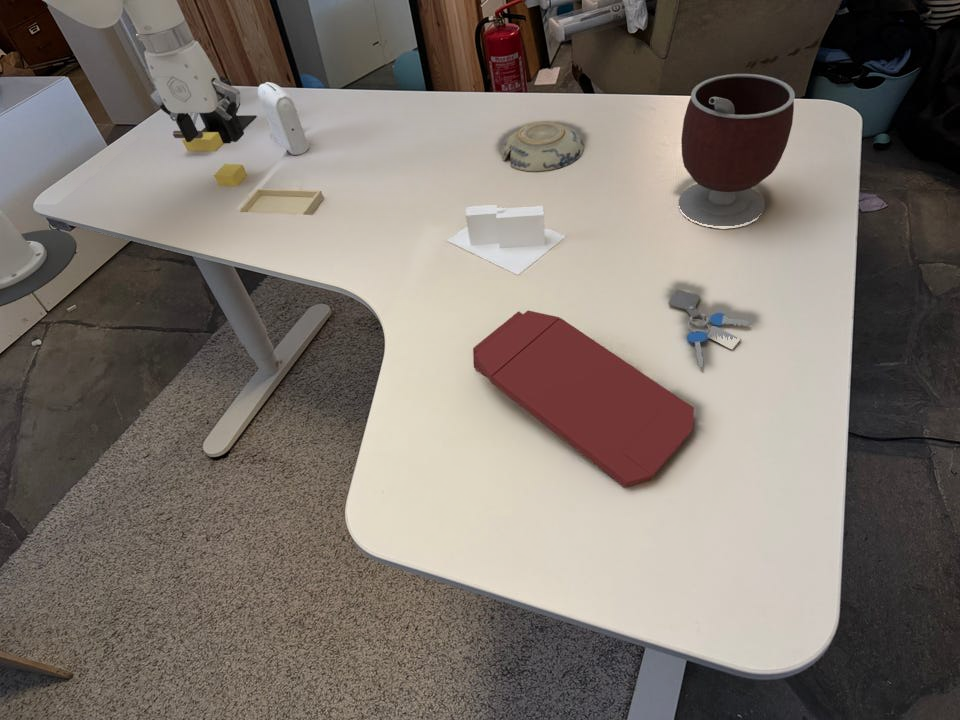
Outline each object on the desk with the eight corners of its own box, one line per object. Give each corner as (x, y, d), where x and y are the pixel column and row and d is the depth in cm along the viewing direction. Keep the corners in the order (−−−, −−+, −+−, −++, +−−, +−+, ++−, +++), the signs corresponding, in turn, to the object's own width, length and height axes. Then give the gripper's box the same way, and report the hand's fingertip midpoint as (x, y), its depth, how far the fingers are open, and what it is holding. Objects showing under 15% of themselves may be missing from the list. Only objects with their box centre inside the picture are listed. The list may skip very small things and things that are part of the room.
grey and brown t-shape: (203, 141, 121) (195, 134, 119) (178, 141, 123) (170, 134, 121) (220, 80, 125) (213, 72, 122) (196, 81, 126) (188, 73, 124)
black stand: (231, 147, 127) (204, 86, 117) (191, 147, 129) (161, 87, 120) (258, 120, 134) (234, 61, 125) (220, 121, 137) (194, 62, 128)
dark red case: (692, 437, 69) (527, 322, 79) (704, 414, 65) (529, 296, 75) (629, 510, 63) (462, 376, 74) (638, 490, 60) (460, 352, 70)
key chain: (662, 294, 80) (663, 289, 79) (724, 284, 80) (725, 279, 79) (698, 371, 70) (699, 366, 70) (768, 360, 70) (770, 355, 70)
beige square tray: (291, 241, 100) (288, 233, 99) (224, 238, 103) (220, 230, 102) (323, 198, 108) (321, 190, 107) (260, 196, 111) (257, 188, 110)
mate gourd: (702, 172, 99) (722, 43, 84) (786, 197, 91) (824, 61, 77) (649, 218, 92) (662, 87, 78) (735, 249, 85) (767, 110, 70)
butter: (217, 155, 125) (210, 139, 123) (189, 155, 127) (181, 139, 124) (225, 147, 127) (218, 132, 125) (197, 147, 129) (189, 131, 126)
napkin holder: (566, 235, 92) (566, 203, 88) (519, 275, 87) (516, 242, 82) (493, 206, 100) (489, 175, 95) (445, 241, 94) (439, 209, 90)
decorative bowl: (600, 144, 109) (537, 123, 117) (601, 124, 107) (536, 104, 115) (547, 182, 103) (484, 157, 111) (546, 162, 100) (482, 138, 108)
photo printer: (312, 149, 122) (291, 88, 113) (293, 158, 120) (270, 96, 111) (291, 134, 128) (270, 74, 119) (273, 141, 126) (249, 82, 117)
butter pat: (239, 190, 114) (231, 175, 111) (220, 190, 115) (213, 175, 112) (249, 179, 116) (242, 164, 114) (231, 179, 117) (224, 164, 115)
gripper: (109, 49, 96) (164, 149, 109) (200, 44, 92) (246, 149, 104) (137, 31, 101) (187, 128, 114) (225, 25, 97) (267, 127, 109)
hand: (215, 138), depth 109 cm, fingers open, 9 cm apart
